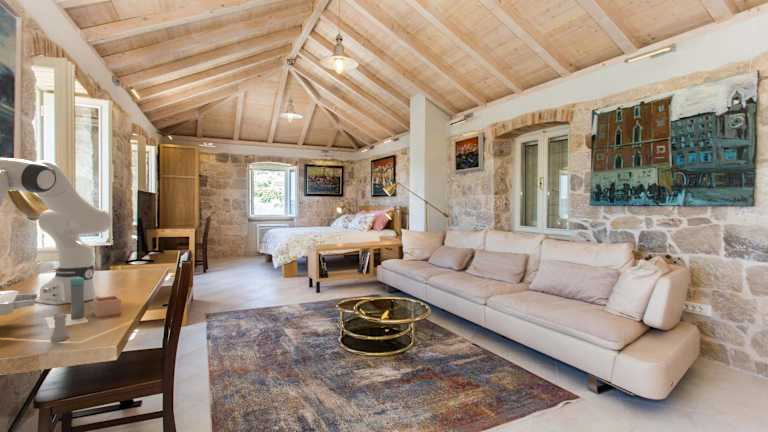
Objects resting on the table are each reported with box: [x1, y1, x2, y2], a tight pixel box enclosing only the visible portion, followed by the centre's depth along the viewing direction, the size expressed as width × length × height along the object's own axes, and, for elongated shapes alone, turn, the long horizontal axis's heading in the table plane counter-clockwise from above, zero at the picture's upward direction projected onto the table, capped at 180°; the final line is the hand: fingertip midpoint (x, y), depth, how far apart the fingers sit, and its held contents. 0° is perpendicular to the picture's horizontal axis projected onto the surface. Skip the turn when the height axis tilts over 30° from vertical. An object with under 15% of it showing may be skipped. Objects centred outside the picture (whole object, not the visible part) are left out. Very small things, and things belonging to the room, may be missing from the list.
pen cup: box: [92, 295, 122, 318], centre depth 139 cm, size 7×7×6 cm
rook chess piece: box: [50, 312, 70, 344], centre depth 113 cm, size 4×4×8 cm
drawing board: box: [45, 313, 89, 329], centre depth 130 cm, size 20×13×1 cm, turn 46°
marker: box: [70, 278, 85, 319], centre depth 132 cm, size 4×4×14 cm
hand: (35, 299), depth 125 cm, fingers open, 8 cm apart
